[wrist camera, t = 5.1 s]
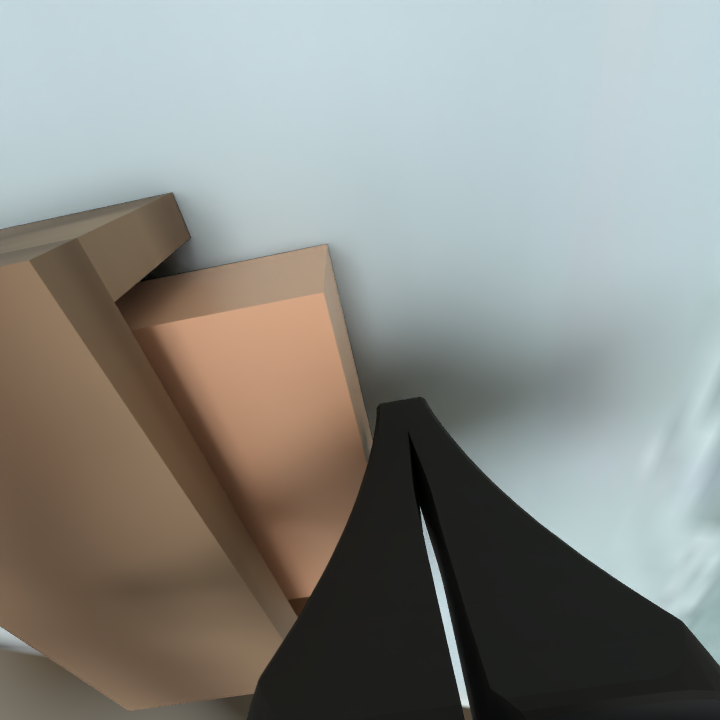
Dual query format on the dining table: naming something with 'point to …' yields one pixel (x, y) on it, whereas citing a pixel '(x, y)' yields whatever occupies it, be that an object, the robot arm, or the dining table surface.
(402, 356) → the dining table surface
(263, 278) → the peach rectangular prism
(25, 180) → the dining table surface
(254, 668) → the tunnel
